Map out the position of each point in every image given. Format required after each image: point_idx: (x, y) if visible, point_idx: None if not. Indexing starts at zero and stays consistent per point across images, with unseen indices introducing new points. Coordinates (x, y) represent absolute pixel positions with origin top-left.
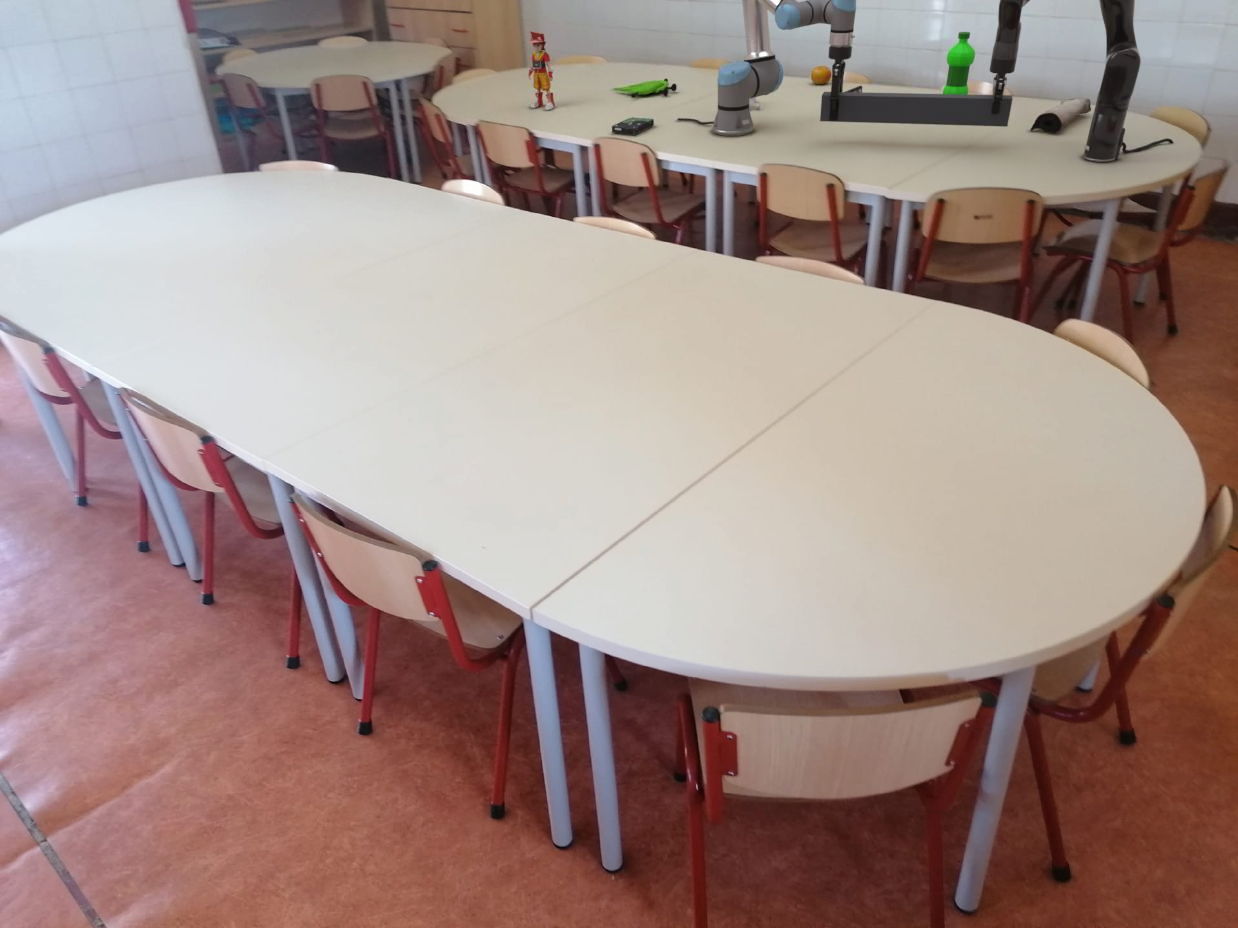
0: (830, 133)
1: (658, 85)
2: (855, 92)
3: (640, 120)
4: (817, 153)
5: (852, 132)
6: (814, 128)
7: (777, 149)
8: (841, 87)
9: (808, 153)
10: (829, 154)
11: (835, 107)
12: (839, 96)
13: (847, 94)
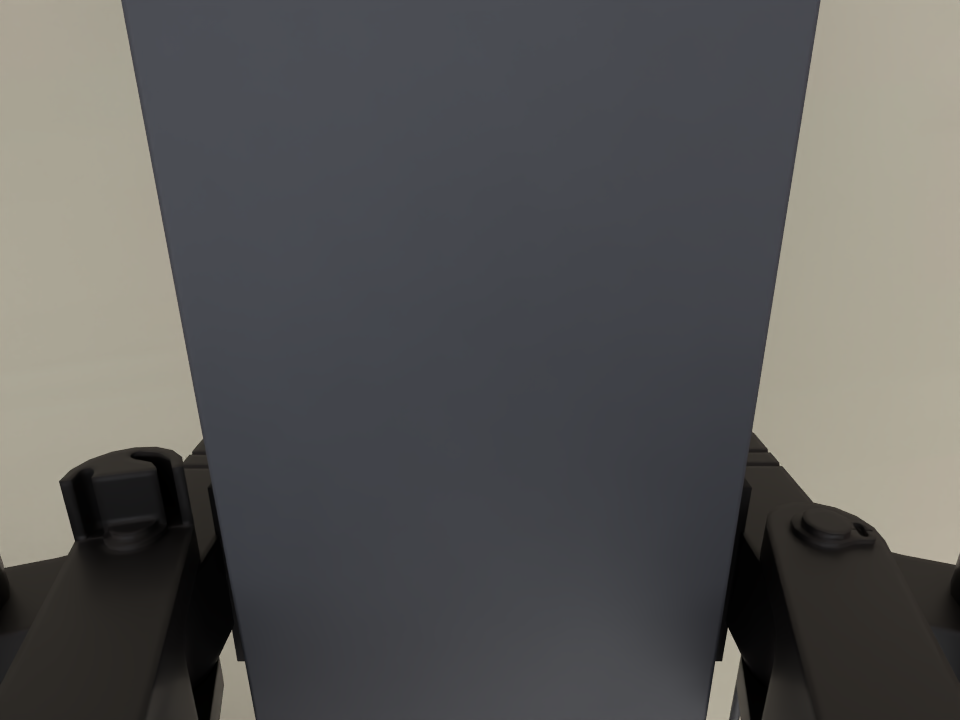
0: (135, 349)
1: None
2: (143, 28)
3: None
4: (847, 368)
5: (13, 124)
6: (17, 508)
7: (718, 669)
8: (138, 716)
9: (843, 442)
10: (889, 254)
11: (764, 462)
12: (718, 550)
13: (566, 335)
